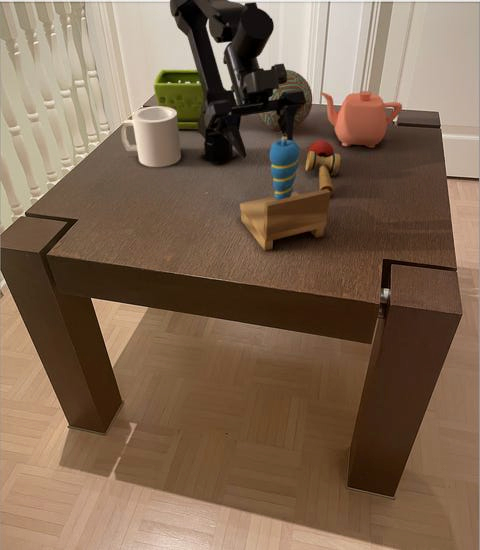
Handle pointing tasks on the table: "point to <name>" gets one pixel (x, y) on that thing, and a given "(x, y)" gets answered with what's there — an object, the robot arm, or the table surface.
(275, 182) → the ornament
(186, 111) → the flower pot
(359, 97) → the teapot
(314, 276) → the table surface
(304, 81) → the decorative sphere
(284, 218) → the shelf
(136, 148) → the mug
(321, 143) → the kendama
